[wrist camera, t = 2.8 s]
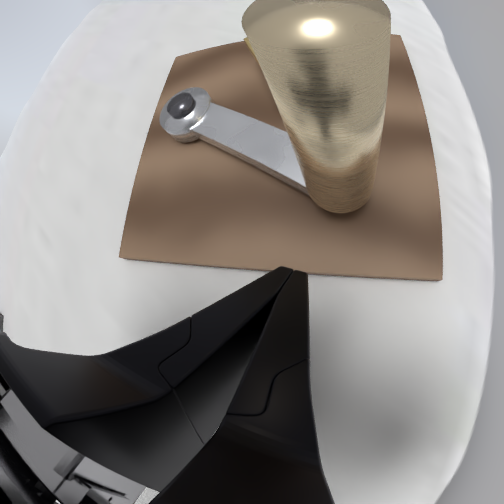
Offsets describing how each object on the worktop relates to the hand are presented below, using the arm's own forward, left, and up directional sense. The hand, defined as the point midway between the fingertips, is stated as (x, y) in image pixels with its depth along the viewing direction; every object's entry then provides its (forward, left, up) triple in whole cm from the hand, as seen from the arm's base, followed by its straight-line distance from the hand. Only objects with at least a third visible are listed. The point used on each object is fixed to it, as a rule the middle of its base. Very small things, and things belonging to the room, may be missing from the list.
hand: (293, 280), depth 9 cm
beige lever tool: (+9, +4, -6) cm, 12 cm away
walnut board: (+11, +3, -8) cm, 14 cm away
